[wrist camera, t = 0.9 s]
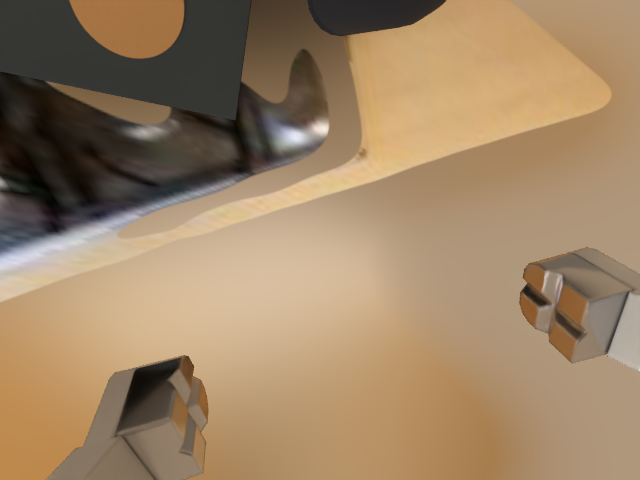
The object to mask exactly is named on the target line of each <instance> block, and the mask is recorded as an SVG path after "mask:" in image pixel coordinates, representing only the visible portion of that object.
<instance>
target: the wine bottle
mask: <svg viewBox="0 0 640 480" xmlns="http://www.w3.org/2000/svg"><path fill="white" fill-rule="evenodd" d="M445 1H446V0H308V5H309V10H310V12H311V14H312V17H313V19H314V21H315V22H316V23H317V24H318V26H319V27H320V28H321V29H322V30H324V31H326V32H327V33H329V34H331V35H337V36H345V35H352V34H358V33H365V32H372V31H379V30H385V29H392V28H398V27H403V26H407V25H412V24H414V23H415V22H417V21H419V20H420V19H422V18H424V17H425V16H427V15H428V14H430V13H431V12H433V11H435V10H436V9H437V8H438V7H440V6H441V5H442V4H444V2H445Z"/></svg>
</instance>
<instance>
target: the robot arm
mask: <svg viewBox="0 0 640 480" xmlns="http://www.w3.org/2000/svg"><path fill="white" fill-rule="evenodd" d="M523 278H524V280H525V281H526V282H527V285H526V286H525V287H524V289H523V290H522V291H521V292H520V302H519V303H520V306H521V310H522V313H523V315H524V316H525V318H526V319H527V321H528V322H529V323H530V324H531V325H532V326H533V327H534V328H535V329H537V330H540V331H543V332H545V333H548V335H549V342H550V343H551V344H552V345H553V346H554V347H555V348H556V349H557V350H558V351H559V352H561V354H563V355H564V356H565V357H566V358H567V359H568V360H569V361H570V362H571V363H576V362H580V361H583V360H587V359H591V358H594V357H598V356H602V355H606V354H607V357H610V358H612V359H614V360H616V361H618V362H620V363H622V364H624V365H626V366H629V367H631V368H633V369H635V370H637V371H639V372H640V274H639V273H637V272H635V271H633V270H632V269H630V268H628V267H626V266H625V265H623V264H621V263H619V262H618V261H616V260H614V259H612V258H611V257H609V256H607V255H605V254H603V253H602V252H600V251H598V250H596V249H593V248H588V247H586V248H583V249H579V250H575V251H572V252H568V253H567V254H562V255H558V256H555V257H551V258H547V259H544V260H540V261H536V262H533V263H529V264H528V265H527V266H526V268H525V269H524V274H523ZM193 371H194V365H193V364H192V362H191V360H190V358H189V356H185V355H184V356H179V357H175V358H171V359H168V360H163V361H159V362H155V363H151V364H146V365H142V366H139V367H136V368H132V369H128V370H123V371H119V372H115V373H114V374H113V375H112V376H111V377H110V379H109V380H108V383H107V386H106V388H105V391H104V394H103V396H102V399H101V401H100V404H99V406H98V409H97V412H96V414H95V417H94V419H93V422H92V424H91V427H90V430H89V432H88V435H87V437H86V440H85V443H84V445H83V446H82V447H79V448H76V449H74V450H73V452H71V453H70V455H69V456H68V457H67V458H66V459H65V460H64V461H63V462H62V463H61V464H60V465H59V466H58V467H57V468H56V469H55V471H53V473H52V474H51V475H50V476H49V477H48V478H47V479H46V480H186V479H189V478H192V477H194V476H198V475H201V474H203V473H204V461H205V450H206V441H205V439H204V437H203V435H202V433H201V431H202V430H203V428H204V427H205V425H206V424H207V422H208V403H207V395H206V392H205V388H204V386H203V384H202V381H201V380H200V379H198V378H196V377H194V376H193Z"/></svg>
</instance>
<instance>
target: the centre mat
mask: <svg viewBox="0 0 640 480" xmlns="http://www.w3.org/2000/svg"><path fill="white" fill-rule="evenodd" d="M250 8H251V0H0V71H1V72H6V73H11V74H15V75H20V76H25V77H30V78H35V79H39V80H44V81H49V82H54V83H59V84H64V85H68V86H73V87H78V88H83V89H87V90H92V91H98V92H102V93H107V94H111V95H116V96H121V97H126V98H131V99H135V100H140V101H146V102H150V103H155V104H160V105H165V106H169V107H174V108H179V109H184V110H188V111H193V112H198V113H203V114H208V115H212V116H217V117H222V118H227V119H232V120H236V114H237V106H238V99H239V91H240V83H241V76H242V68H243V61H244V53H245V45H246V38H247V30H248V22H249V15H250Z"/></svg>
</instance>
